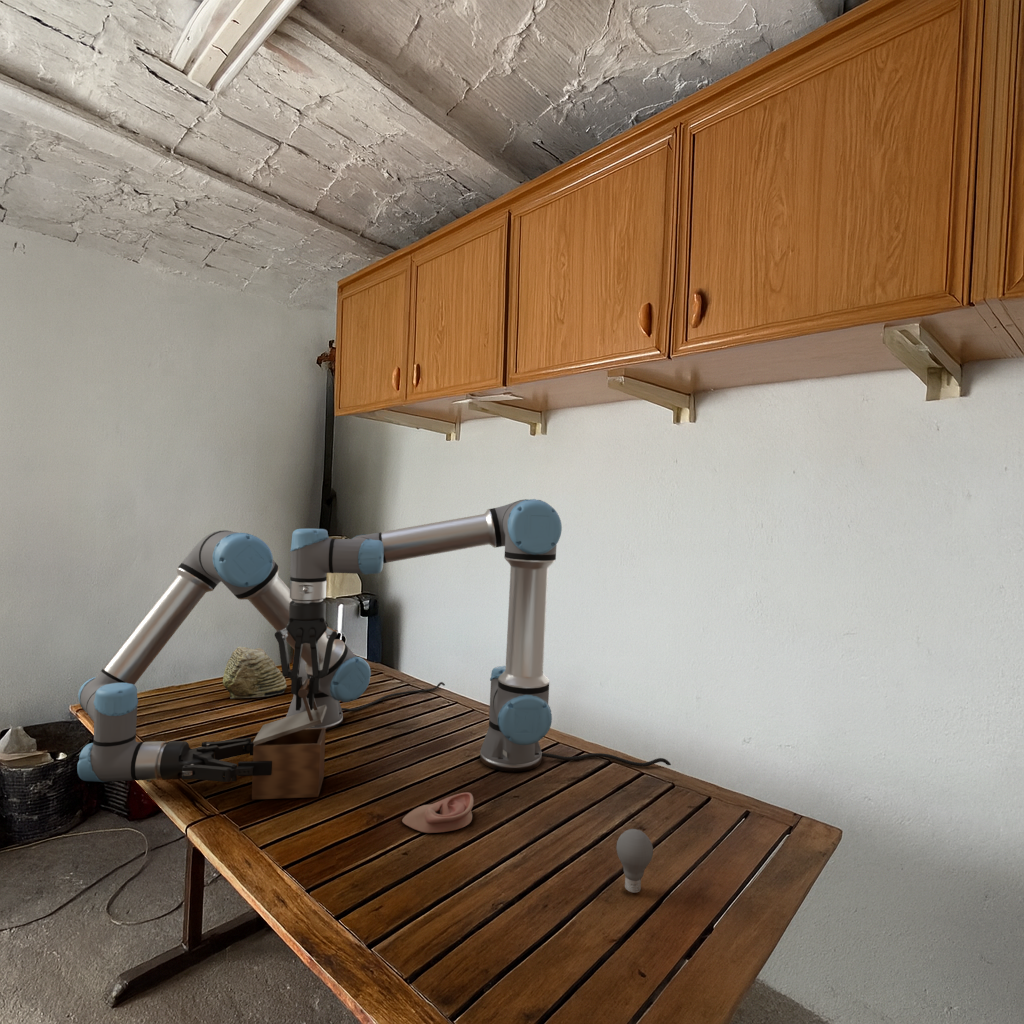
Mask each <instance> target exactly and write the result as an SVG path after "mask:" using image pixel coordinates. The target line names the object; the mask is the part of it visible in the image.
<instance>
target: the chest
mask: <svg viewBox="0 0 1024 1024" xmlns="http://www.w3.org/2000/svg"><path fill="white" fill-rule="evenodd" d="M326 731H327V730H326V728H306V729H303V730H300V731H297V732H294V733H291V734H288V735H285V736H282V737H279V738H276V739H273V740H270V741H267V742H264V743H261V744H258V745H254V746H253V756H252V761H272V774H271V775H263V776H251V777H252V779H251V781H252V782H251V800H252V801H253V800H255V801H256V800H275V799H277V800H278V799H304V798H319V795H320V792H321V789H322V785H323V781H324V778H325V756H326V755H325V753H326Z"/></svg>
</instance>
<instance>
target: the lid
mask: <svg viewBox="0 0 1024 1024" xmlns="http://www.w3.org/2000/svg"><path fill="white" fill-rule="evenodd" d="M309 680H310V679H306V680H305V681H304V682H303V684H302V686H301V688H300V690H299V692H298V695H299V697H301V698H303V701H304V704H305V707H306V710H307V711H305V712H302V713H298V714H295V715H292V716H289V717H286V716H285V717H284V718H280V719H277V720H274V721H271V722H268V723H264V724H262V726H261V727H260V729H259V731H258V732H257V734H256V736H255V738H254V739H253V741H252V742H253V743H254V745H258V744H261V743H264V742H267V741H270V740H273V739H276V738H279V737H282V736H285V735H288V734H291V733H294V732H297V731H300V730H303V729H306V728H309V727H312V726H315V725H318V724H321V723H322V721H323V718H324V715H325V712H326V709H327V706H326V705H323V706H320V707H317V705H316V702H315V699H314V707H313V708H314V709H312V710H311V709H310V706H309V703H308V700H307V694H308V692H309Z"/></svg>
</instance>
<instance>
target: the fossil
mask: <svg viewBox="0 0 1024 1024" xmlns="http://www.w3.org/2000/svg"><path fill="white" fill-rule="evenodd" d="M222 676H223V677H222V685H223V687H224V688H225V690H226V691H228V693H229V698H230V699H250V698H264V697H271V696H275V695H281V694H284V693H285V691H286V689H287V687H288V686H287V680H286V677H284V676H283V675H282V671H281V669H279V668H278V667H277V665H276V663H275V662H274V660H273V659H272V658H271V657H270V656H269V655H268V654H267V653H266V652H265V650H264V649H263V648H260V647H258V648H251V647H247V646H246V647H245V646H238V647H237V648H236V649H235V650H233V651H232V653H231V656H230V657H229V659H228V660H227V663H226V666H225V668H224V671H223V675H222Z"/></svg>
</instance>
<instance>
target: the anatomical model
mask: <svg viewBox="0 0 1024 1024" xmlns="http://www.w3.org/2000/svg"><path fill="white" fill-rule="evenodd" d="M473 807H474V796H473V794H472V793H471V792H467V791H466V792H461V793H456V794H453V795H450V796H448V797H445V798H443V799H441V800H439V801H436V802H434V803H431V804H430V803H429V804H423V805H421V806H418V807H416V808H414V809H412V810H411V811H409V812H408V813H407V814H405V816H403V817H402V820H401V821H402V823H403V824H404V825H405V826H406V827H409V828H410V829H412V830H415V831H418V832H421V833H424V834H435V833H437V834H438V833H446V832H452V831H456V830H459V829H463V828H464V827H466V826H468V825H470V824H471V822H472V820H473V813H472V809H474V808H473Z"/></svg>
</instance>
